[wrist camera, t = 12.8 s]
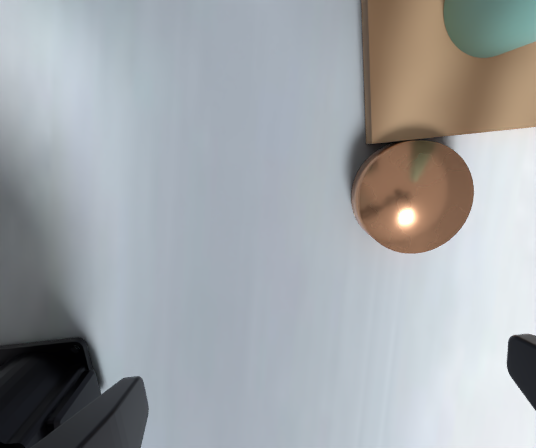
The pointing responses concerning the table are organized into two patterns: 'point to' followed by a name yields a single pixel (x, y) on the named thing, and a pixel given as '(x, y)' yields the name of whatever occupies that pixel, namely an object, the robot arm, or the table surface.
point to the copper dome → (412, 195)
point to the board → (437, 77)
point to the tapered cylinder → (490, 25)
